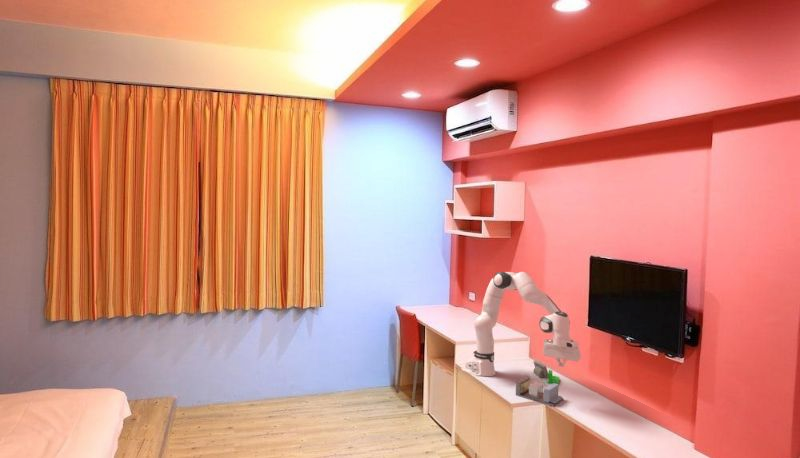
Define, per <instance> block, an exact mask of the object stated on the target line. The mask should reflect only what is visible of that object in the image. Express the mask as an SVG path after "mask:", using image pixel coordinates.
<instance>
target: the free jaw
mask: <svg viewBox="0 0 800 458" xmlns="http://www.w3.org/2000/svg"><path fill="white" fill-rule="evenodd" d="M559 387H560V386H559V384H555V383H553V384H549V385H548V386H546V387H545V388H543V393H544V394H543V399H544V401H545V402H548V403H549V402H552V403H557V402H558V401H559V400H561V399H562V398H563V396H561V395H559V391H560V390H559V389H560V388H559Z"/></svg>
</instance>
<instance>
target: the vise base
mask: <svg viewBox="0 0 800 458" xmlns="http://www.w3.org/2000/svg"><path fill="white" fill-rule="evenodd" d="M529 385H531V376H525V377H522V378H521V379H519V380H517V381H516V382H515V396H517V397H520V398H523V399H526V400H530V401H533V402H537V403H538V404H544V405H547V406H550V407H553V408H555V407H556V406H557V405H559V404H560V403H561V402H563V401H564V397H562V399H561V400H559V401H558V402H557V403H552V402H549V403H548V402H545V401H544V399H543V395H541V396H539V397H538V398H535V397H532V396H529ZM543 394H544V392H543Z"/></svg>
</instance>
